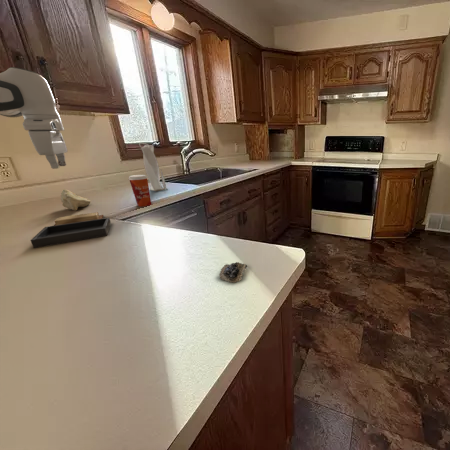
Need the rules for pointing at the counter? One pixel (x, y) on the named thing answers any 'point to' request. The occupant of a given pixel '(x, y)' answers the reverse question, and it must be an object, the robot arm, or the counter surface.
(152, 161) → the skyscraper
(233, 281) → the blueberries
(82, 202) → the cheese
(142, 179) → the paper cup
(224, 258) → the counter surface
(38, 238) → the tray
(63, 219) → the board
